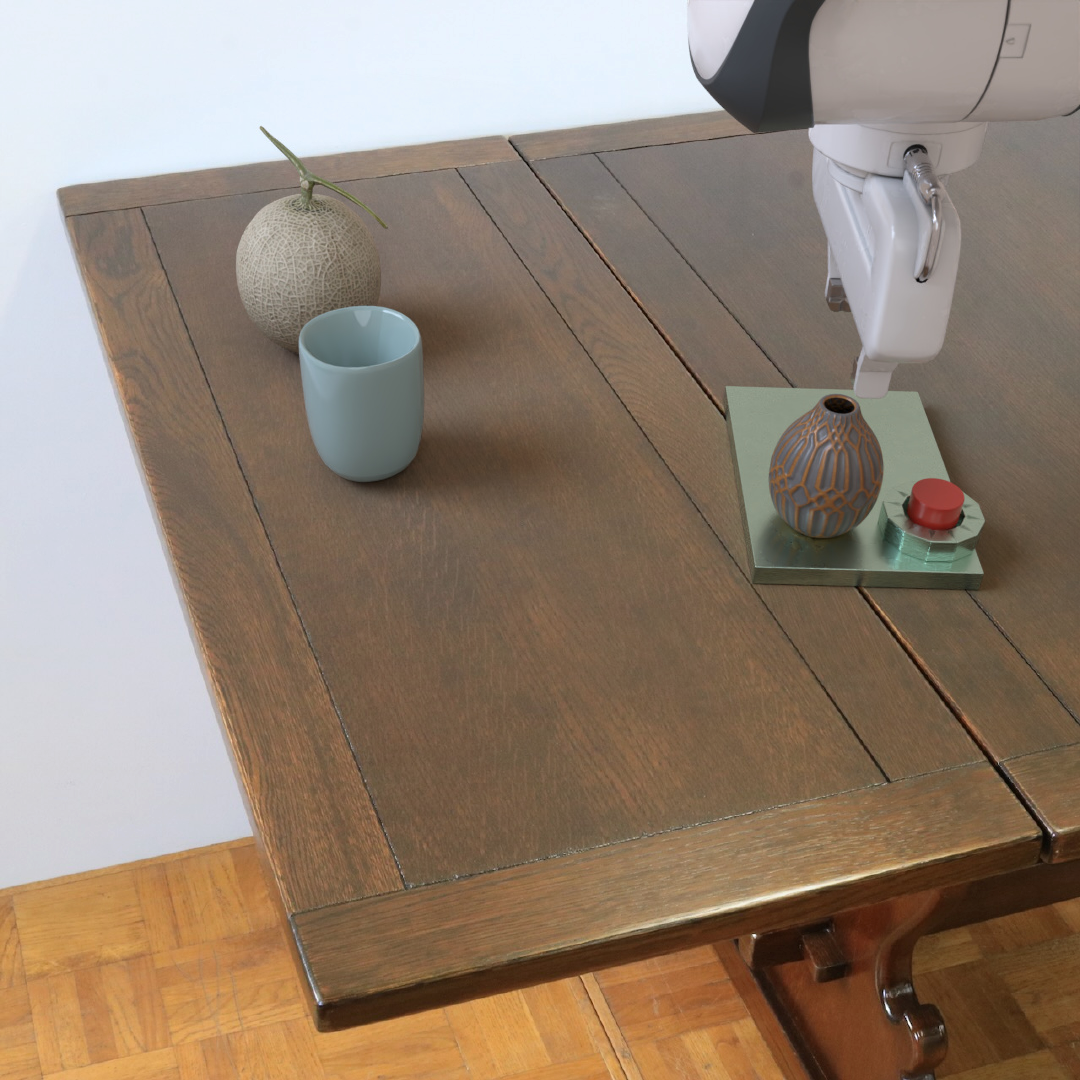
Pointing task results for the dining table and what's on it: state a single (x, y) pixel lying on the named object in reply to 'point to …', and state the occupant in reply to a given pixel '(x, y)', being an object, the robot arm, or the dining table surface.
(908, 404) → the green metallic slab
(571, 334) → the dining table surface
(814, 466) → the vase
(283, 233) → the fruit
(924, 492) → the button
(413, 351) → the cup
